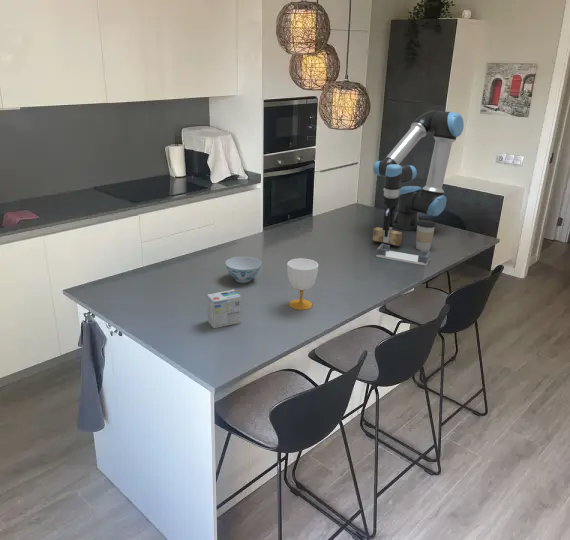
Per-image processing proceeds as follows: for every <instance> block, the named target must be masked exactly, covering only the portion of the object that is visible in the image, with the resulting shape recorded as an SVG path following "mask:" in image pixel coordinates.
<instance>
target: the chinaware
mask: <svg viewBox="0 0 570 540" xmlns="http://www.w3.org/2000/svg"><path fill="white" fill-rule="evenodd" d="M261 267H262V261H261V260H260V259H258V258H255V257H252V256H234V257H230V258H228V259H227V260H226V261H225V268H226V271H227V273H228V274H229V275H230V276H231V277H232V278H233V279H235V281H236V282H238V283H240V284H241V283H243V284H245V283H249V282H251V281H252V279H254V278H255V277H256V276H257V275H258V273H259V272H260V271H261Z"/></svg>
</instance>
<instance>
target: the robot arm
mask: <svg viewBox="0 0 570 540" xmlns="http://www.w3.org/2000/svg"><path fill="white" fill-rule="evenodd" d="M464 125H465V123H464V119H463V116H462V115H461V114H460V113H459V112H458V113H457V112H453V111H445V110H444V111H443V110H437V109H436V110H435V109H434V110H432V109H431V110H429V111H426V112H424V113H423V114H421V115H419V116H418V117H417V118H416V119H415V120H414V121H413V122H412V123H411V125H410V128H409V129H408V131H407V132H406V133H405V135H403V137H402V138H400V140H399V142H397V144H396V145H395V146H394V147H393V148H392V150H391V151H390V152H389V153H388V154H387V155H386V157H384V159H383V160H376V161H375V162H374V163H373V168H372V172H373V174H374V175H375V176H379V177H383V178H384V188H382V191H383V200H382V204H383V205H385V206H386V207H385V209H384V213H383V214H384V217H383V227H382V228H383V229H382V230H384V237H383V242H386V243H385V244H388V243H389V233H390V230H393V228H395V229H398V230H402V231H415V230H416V231H417V222H418V221H420V219H419V214H418V213H421V214H424V215H428V216H433V217H438V216H439V215H440V214H442V212H444V210H445V208H446V205H447V201H448V200H447V197H446V196H445V195H444V194H445V191H444V189H443V185H444V181H445V176H446V171H447V168H448V163H449V158H450V155H451V151H452V150H451V149H452V147H453V146H452V145H453V143H454V142H456V141H457V138H458V137H460V136H461V135H462V133H463V131H464ZM428 134H433V138H434V140H435V141H434V145H433V150H432V155H431V161H430V165H429V170H428V174H427V179H426V183H425V186H423V187H421V186H418V185H407V186H406V185H405V186H401V184H402V183H406V182H411V181H413V180H415V178H416V177H417V175H418V172H417V169H416V167H415V166H414V165H408V164H407V165H403V164H402V165H401V164H400V163H402V161H404V159H405V158H406V157H407V156H408V154H409V153H410V152H411V150H412V149H413V148H414V147H416V145H417V143H418V142H419V141H420V140H421V139H422V138H424V137H426V136H427V135H428ZM396 206H397V209H396ZM395 210H396V211H395ZM395 212H396V214H395ZM383 242H382V243H383Z"/></svg>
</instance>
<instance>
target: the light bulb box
mask: <svg viewBox="0 0 570 540" xmlns="http://www.w3.org/2000/svg"><path fill="white" fill-rule="evenodd" d="M241 299H242V296H241V295H240V294H239V293H238V292H237V291H236V290H235V289H228V290H225V291H220V292H219V291H218V292H214V293H208V294H206V307H207V322H208V323H209V324H210V326H211V327H212V328H213V329H217V328H221V327H222V328H223V327H226V326H232V325H236V324H241V323H242V317H241V316H242V313H241V312H242V310H241V309H242V305H241V302H242V300H241Z"/></svg>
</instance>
